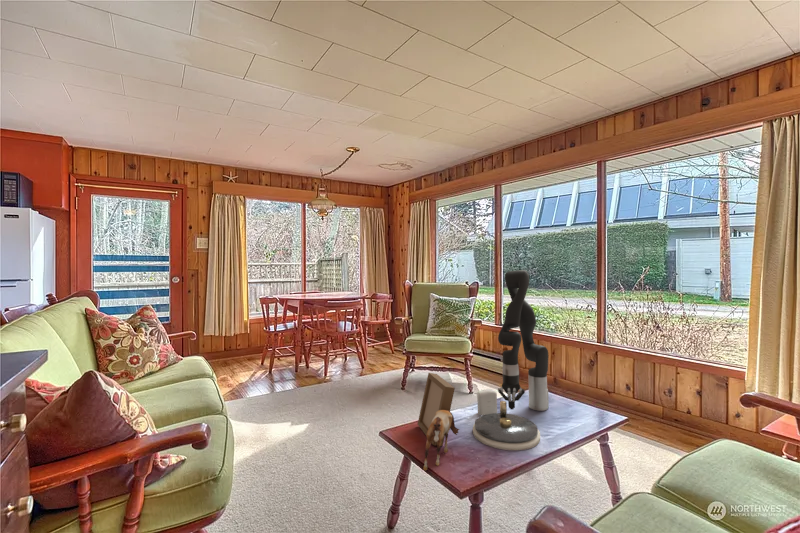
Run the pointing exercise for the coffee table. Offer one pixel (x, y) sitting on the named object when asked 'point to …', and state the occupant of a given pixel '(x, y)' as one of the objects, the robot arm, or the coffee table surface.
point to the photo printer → (487, 401)
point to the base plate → (506, 445)
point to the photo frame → (434, 401)
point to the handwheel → (506, 427)
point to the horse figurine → (439, 432)
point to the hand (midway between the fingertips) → (511, 408)
